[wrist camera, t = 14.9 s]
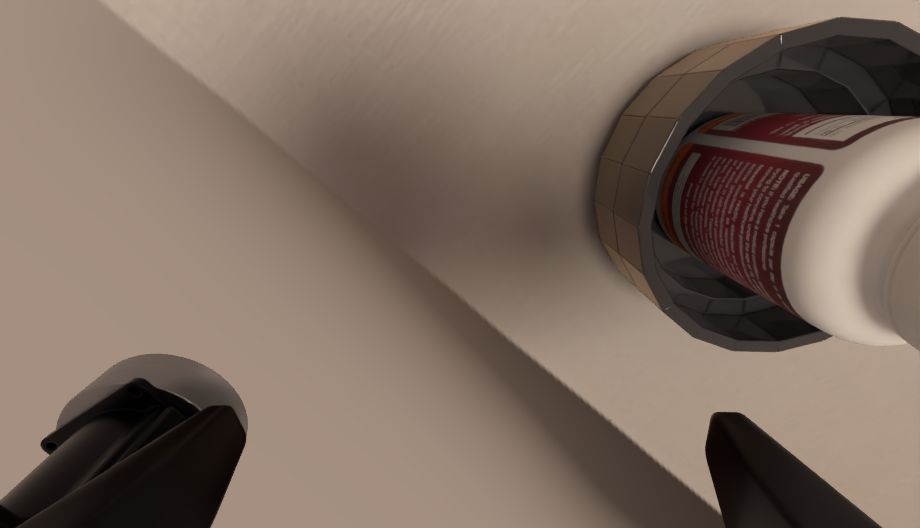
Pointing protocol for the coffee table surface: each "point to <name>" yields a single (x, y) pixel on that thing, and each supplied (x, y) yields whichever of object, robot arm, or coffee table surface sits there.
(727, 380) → the coffee table surface
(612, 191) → the dish
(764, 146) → the pill bottle
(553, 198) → the coffee table surface
